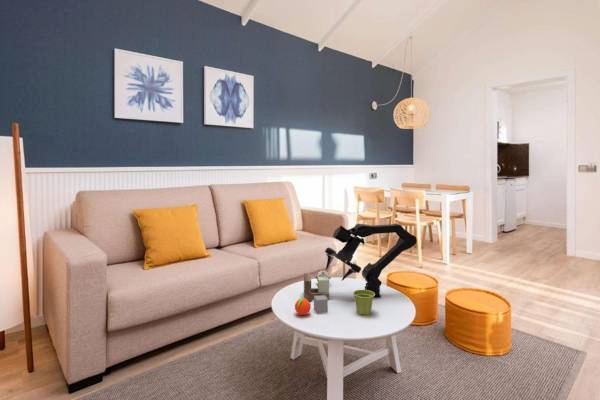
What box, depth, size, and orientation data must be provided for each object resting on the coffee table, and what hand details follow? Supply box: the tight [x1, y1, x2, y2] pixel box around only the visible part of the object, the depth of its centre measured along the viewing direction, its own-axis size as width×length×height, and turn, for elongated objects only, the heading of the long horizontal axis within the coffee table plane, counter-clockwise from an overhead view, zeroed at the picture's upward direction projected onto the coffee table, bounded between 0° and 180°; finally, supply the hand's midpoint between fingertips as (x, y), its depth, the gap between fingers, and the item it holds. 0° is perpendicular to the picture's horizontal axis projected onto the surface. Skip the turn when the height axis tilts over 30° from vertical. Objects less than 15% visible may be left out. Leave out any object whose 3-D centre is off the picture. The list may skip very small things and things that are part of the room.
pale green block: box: [317, 277, 330, 294], centre depth 177 cm, size 5×5×9 cm
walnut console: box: [303, 272, 330, 303], centre depth 177 cm, size 12×12×10 cm
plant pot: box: [352, 289, 375, 316], centre depth 159 cm, size 9×9×9 cm
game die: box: [314, 269, 332, 282], centre depth 195 cm, size 9×8×10 cm
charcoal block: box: [313, 295, 329, 314], centre depth 160 cm, size 5×5×6 cm
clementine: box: [294, 297, 312, 316], centre depth 156 cm, size 8×7×7 cm
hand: (334, 275), depth 175 cm, fingers open, 9 cm apart
